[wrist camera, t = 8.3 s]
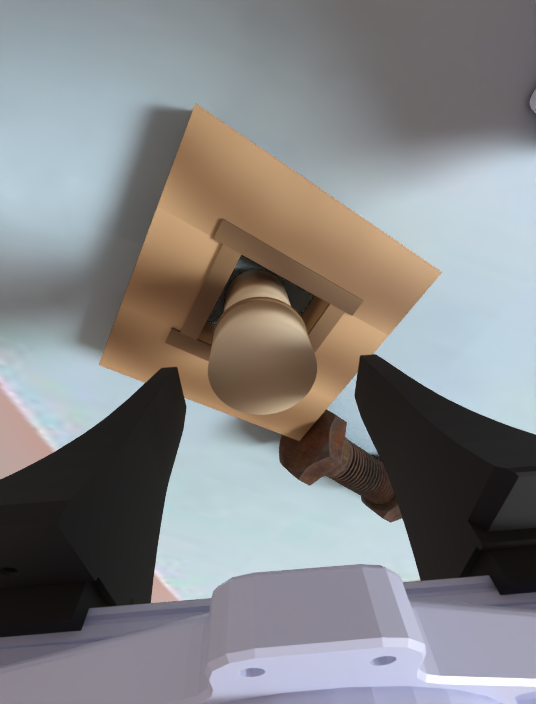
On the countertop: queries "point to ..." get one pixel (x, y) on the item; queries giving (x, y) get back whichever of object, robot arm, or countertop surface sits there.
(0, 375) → the countertop surface
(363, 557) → the countertop surface
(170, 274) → the board
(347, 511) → the countertop surface
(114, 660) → the robot arm
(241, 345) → the peg
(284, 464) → the bolt
